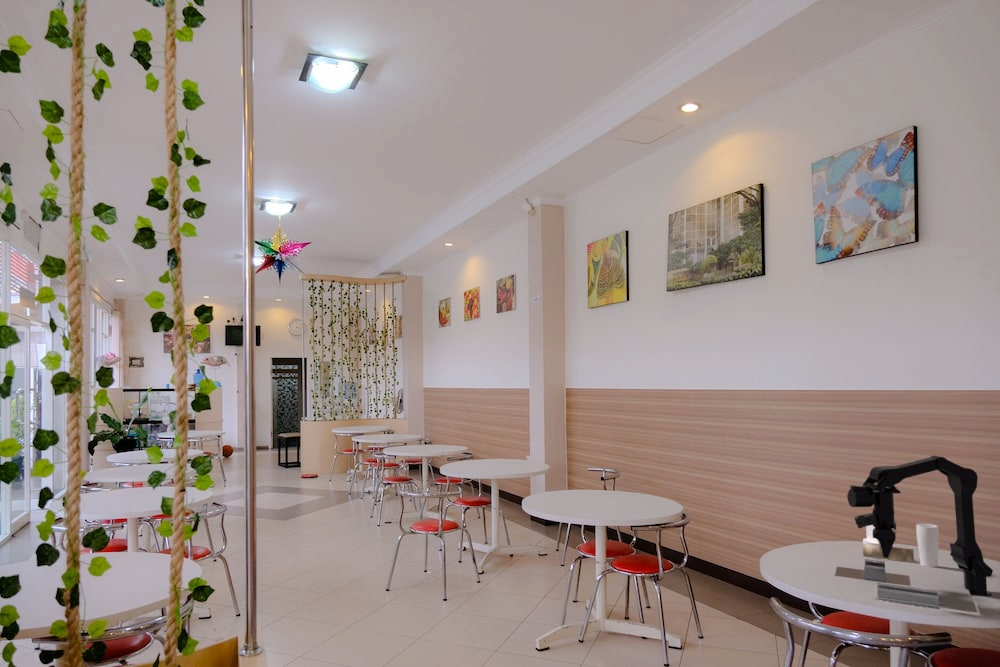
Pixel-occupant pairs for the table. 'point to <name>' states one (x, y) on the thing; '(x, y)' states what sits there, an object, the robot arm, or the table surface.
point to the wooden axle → (894, 554)
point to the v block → (908, 595)
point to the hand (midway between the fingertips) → (885, 555)
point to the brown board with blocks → (873, 573)
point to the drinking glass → (928, 544)
